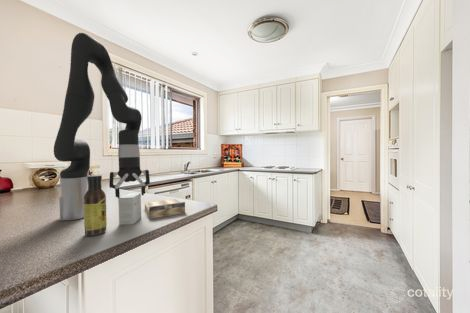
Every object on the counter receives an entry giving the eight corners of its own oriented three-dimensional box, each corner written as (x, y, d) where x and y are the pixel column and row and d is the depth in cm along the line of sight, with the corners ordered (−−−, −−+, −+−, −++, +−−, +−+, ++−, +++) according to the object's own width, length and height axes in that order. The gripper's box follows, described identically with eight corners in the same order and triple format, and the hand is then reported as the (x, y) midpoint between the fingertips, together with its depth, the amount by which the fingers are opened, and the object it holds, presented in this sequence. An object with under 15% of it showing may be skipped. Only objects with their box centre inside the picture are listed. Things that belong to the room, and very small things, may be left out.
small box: (127, 218, 84) (127, 193, 84) (141, 217, 85) (141, 192, 85) (118, 225, 76) (117, 197, 76) (133, 224, 77) (133, 197, 77)
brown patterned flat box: (149, 218, 83) (149, 207, 83) (144, 209, 97) (144, 199, 97) (185, 212, 91) (185, 202, 91) (176, 204, 105) (175, 195, 105)
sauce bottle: (106, 234, 68) (105, 175, 67) (83, 238, 65) (82, 177, 64) (106, 228, 73) (105, 174, 73) (85, 231, 70) (83, 175, 69)
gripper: (147, 155, 87) (148, 192, 87) (108, 156, 79) (110, 197, 80) (149, 155, 80) (151, 195, 81) (107, 157, 73) (109, 201, 73)
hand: (130, 196), depth 80 cm, fingers open, 8 cm apart
